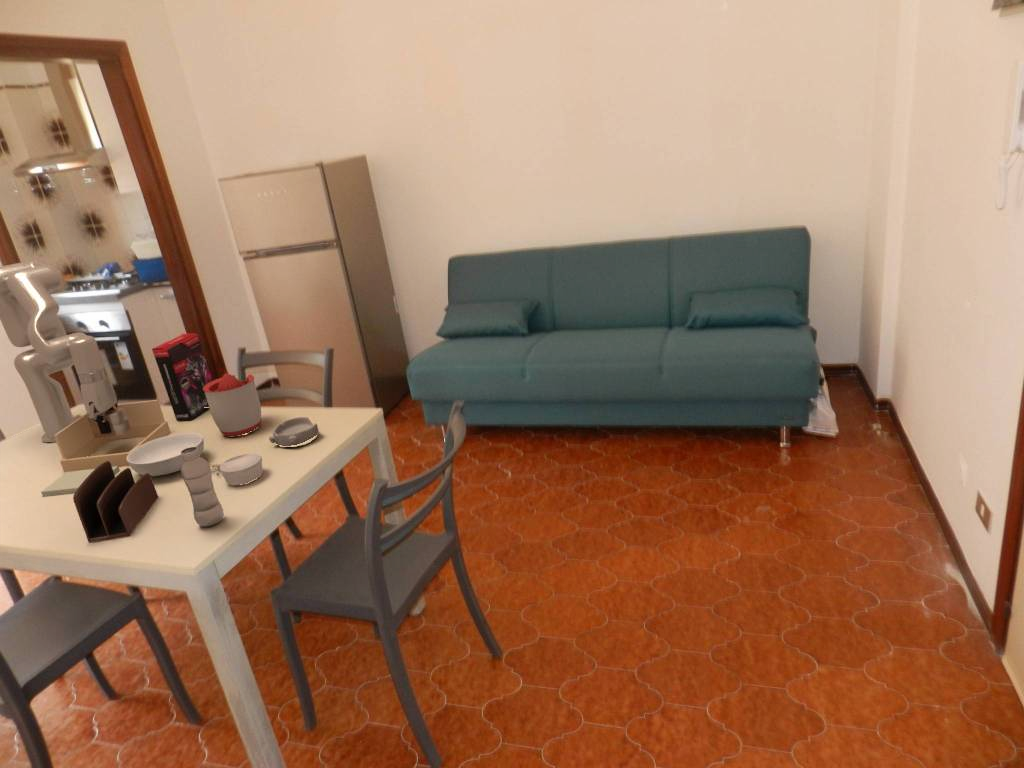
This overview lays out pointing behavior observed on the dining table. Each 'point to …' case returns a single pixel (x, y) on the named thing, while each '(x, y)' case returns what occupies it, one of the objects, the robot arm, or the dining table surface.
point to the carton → (82, 443)
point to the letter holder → (113, 502)
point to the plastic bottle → (201, 488)
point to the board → (70, 482)
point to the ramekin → (242, 468)
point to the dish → (294, 431)
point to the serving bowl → (163, 454)
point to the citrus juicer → (234, 404)
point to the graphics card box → (184, 375)
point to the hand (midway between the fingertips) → (111, 428)
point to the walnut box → (112, 423)
